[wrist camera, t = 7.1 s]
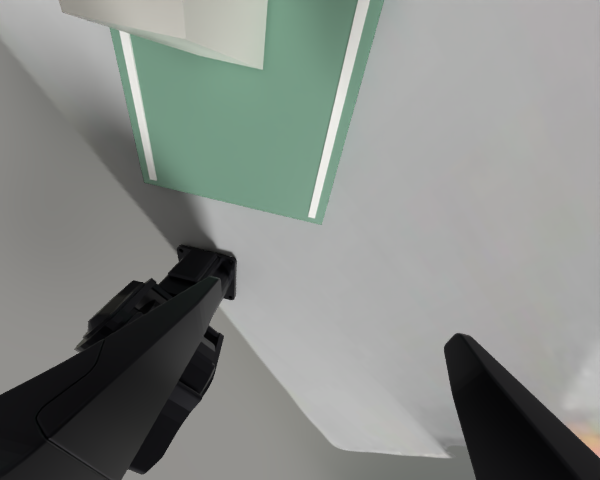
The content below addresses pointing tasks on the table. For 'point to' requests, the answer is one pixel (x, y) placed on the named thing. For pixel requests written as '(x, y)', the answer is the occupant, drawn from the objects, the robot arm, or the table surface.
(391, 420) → the table surface
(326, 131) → the board
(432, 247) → the table surface
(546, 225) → the table surface
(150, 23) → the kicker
